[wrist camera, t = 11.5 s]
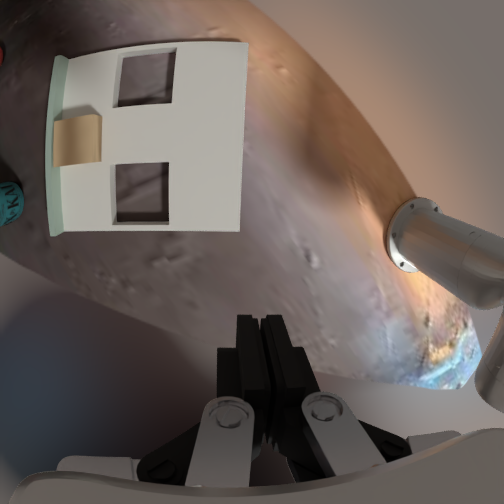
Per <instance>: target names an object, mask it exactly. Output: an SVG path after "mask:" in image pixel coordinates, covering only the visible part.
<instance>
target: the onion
mask: <svg viewBox="0 0 504 504" xmlns="http://www.w3.org/2000/svg"><path fill="white" fill-rule="evenodd" d="M2 61H3V51H2V49H1V47H0V66H1V65H2Z"/></svg>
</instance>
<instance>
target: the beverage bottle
mask: <svg viewBox="0 0 504 504" xmlns="http://www.w3.org/2000/svg"><path fill="white" fill-rule="evenodd" d="M23 205H24V198H23V194H22V191H21V189H20V187H19V186H18V185H17V184H16V183H14V182H12V181H11V182H2V183H1V184H0V226H2V225H4V224H5V225H7V223H8V224H9V222H10V223H11V221H12V222H13V221H14V220H17V219H18V217H19V216H20V214H21V213H22V210H23ZM5 225H4V226H5Z"/></svg>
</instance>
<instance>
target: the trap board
mask: <svg viewBox="0 0 504 504" xmlns="http://www.w3.org/2000/svg"><path fill="white" fill-rule="evenodd" d="M248 45H249V43H245V42H218V41H201V42H175V43H161V44H150V45H142V46H134V47H127V48H120V49H114V50H109V51H103V52H98V53H93V54H89V55H85V56H80V57H76V58H72V59H68V58H66V57H64V56H62V55H59V56H56V57H55V60H54V66H53V72H52V78H51V85H50V93H49V101H48V112H47V125H46V150H45V170H46V195H47V209H48V220H49V229H50V236H57V235H59V234H60V233H62V232H64V231H235V232H239V230H240V204H241V180H242V157H243V136H244V116H245V97H246V79H247V62H248ZM173 52H176V61H175V70H174V81H173V93H172V103H168V104H151V105H138V106H127V107H118V96H119V86H120V77H121V69H122V61H123V58H124V57H131V56H139V55H148V54H159V53H173ZM91 114H95V115H98V116H102V150H101V162H93V163H84V164H76V165H68V166H60V167H53V139H54V122H55V121H59V120H64V119H69V118H74V117H79V116H85V115H91ZM150 162H169V222H117V214H116V188H115V164H129V163H150Z"/></svg>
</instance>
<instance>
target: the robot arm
mask: <svg viewBox="0 0 504 504" xmlns="http://www.w3.org/2000/svg"><path fill="white" fill-rule="evenodd" d="M386 244H387V251H388V254H389V257H390V259H391V261H392V262H393V263H394V264H395V266H397V267H398V268H399V269H401V270H403V271H405V272H409V273H412V272H418V271H421V272H422V273H424V274H425V275H426V276H428V277H429V278H431V279H432V280H434V281H435V282H437V283H438V284H439V285H441V286H442V287H444V288H445V289H446V290H448V291H449V292H451V293H452V294H453V295H455V296H456V297H458V298H459V299H460V300H462V301H463V302H465V303H466V304H467V305H469V306H470V307H472V308H475V309H478V310H489V309H493V308H496V307H499V306H502V305H503V312H502V314H501V317H500V320H499V323H498V325H497V327H496V330H495V332H494V334H493V336H492V338H491V340H490V342H489V344H488V346H487V348H486V350H485V352H484V355H483V356H482V358H481V360H480V362H479V365H478V367H477V369H476V373H475V387H476V390H477V392H478V394H479V395H480V396H481V397H482V399H483V400H484V401H485V402H486V403H488V404H489V405H491V406H492V407H493V408H495V409H496V410H498V411H500V412H502V413H504V238H502V237H500V236H497V235H495V234H493V233H490V232H488V231H485V230H483V229H480V228H478V227H475V226H473V225H470V224H467V223H465V222H462V221H460V220H457V219H455V218H452V217H449V216H446V215H444V214H443V213H442V211H441V209H440V208H439V206H438V205H437V204H436V203H435V202H433V201H431V200H429V199H426V198H420V197H418V198H413V199H410V200H408V201H407V202H405V203H403V204H402V205H401V206H400V207H399V208H398V210H397V211H396V212H395V214H394V216H393V217H392V219H391V222H390V224H389V227H388V232H387V241H386ZM264 434H265V436H266V441H267V443H268V444H272V446H273V451H279V453H281V454H282V455H284V456H286V457H287V458H286V459H287V464H288V466H289V469H290V471H291V473H292V476H293V478H294V480H295V483H293V484H284V485H274V486H261V487H249V476H250V465H251V461H252V460H254V459H255V458H256V457H257V456H258V455H259V454H260V449H261V444H263V439H264ZM8 504H504V429H502V428H490V429H482V430H477V431H473V432H469V433H466V434H463V435H461V434H460V433H459V432H456V431H444V432H438V433H431V434H424V435H416V436H408V437H407V439H403V438H401V437H399V436H397V435H394V434H392V433H390V432H387V431H384V430H382V429H379V428H377V427H375V426H372V425H370V424H367V423H365V422H363V421H360V420H358V419H357V418H356V417H355V415H354V414H353V412H352V411H351V409H350V408H349V406H348V405H347V404H346V402H345V401H344V400H343V399H342V398H341V397H339V396H337V395H336V394H333V393H330V392H321V391H320V389H319V386H318V384H317V381H316V378H315V376H314V374H313V371H312V368H311V366H310V363H309V361H308V358H307V355H306V353H305V350H304V348H303V347H292V344H291V341H290V338H289V335H288V332H287V329H286V326H285V323H284V320H283V318H282V315H267V316H266V318H262V319H261V325H260V329H259V324H258V319H257V318H252V315H237V332H236V348H217V398H216V399H214V400H212V401H211V402H210V403H208V404H207V405H206V407H205V409H204V412H203V416H202V420H201V422H199V423H198V424H196V425H195V426H193V427H192V428H190V429H189V430H187V431H186V432H184V433H183V434H181V435H179V436H178V437H176V438H174V439H173V440H171V441H170V442H168V443H166V444H165V445H163V446H161V447H160V448H158V449H156V450H154V451H153V452H151V453H149V454H148V455H146V456H145V457H143V458H142V459H141V460H131V458H130V457H89V456H68V457H66V458H64V459H62V460H61V462H60V463H59V464H58V467H57V471H48V472H41V473H36V474H33V475H30V476H28V477H26V478H25V479H24V480H23V481H22V482H21V483H20V484H19V485H18V487H17V488H16V489H15V491H14V493H13V495H12V497H11V499H10V501H9V503H8Z"/></svg>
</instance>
